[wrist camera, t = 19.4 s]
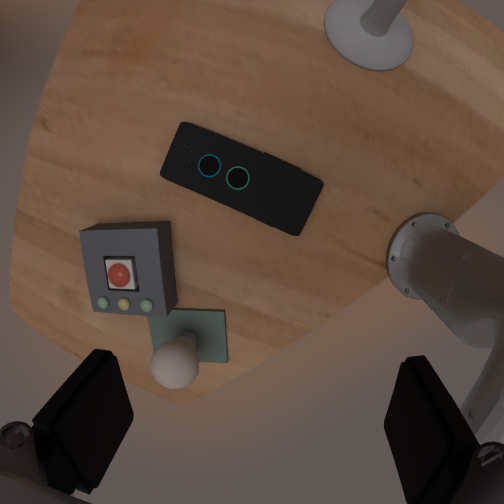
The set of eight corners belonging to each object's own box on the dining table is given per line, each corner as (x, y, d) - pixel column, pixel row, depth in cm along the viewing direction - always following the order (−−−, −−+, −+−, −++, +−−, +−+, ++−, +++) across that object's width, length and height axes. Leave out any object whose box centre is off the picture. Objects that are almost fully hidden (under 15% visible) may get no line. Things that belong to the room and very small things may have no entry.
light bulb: (218, 345, 46) (203, 391, 36) (183, 359, 48) (162, 403, 37) (195, 310, 45) (172, 351, 34) (160, 326, 46) (132, 366, 36)
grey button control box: (170, 221, 42) (154, 229, 37) (177, 302, 46) (165, 319, 40) (97, 223, 43) (76, 232, 38) (108, 298, 47) (90, 313, 41)
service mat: (224, 309, 45) (224, 311, 45) (228, 360, 48) (227, 363, 47) (147, 306, 46) (146, 308, 46) (156, 355, 49) (155, 357, 48)
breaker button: (140, 253, 42) (128, 261, 38) (143, 281, 43) (133, 291, 39) (115, 253, 42) (103, 261, 38) (119, 280, 43) (107, 289, 39)
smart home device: (181, 118, 37) (325, 180, 38) (185, 120, 39) (323, 180, 40) (157, 177, 40) (297, 239, 40) (162, 176, 41) (296, 236, 42)
